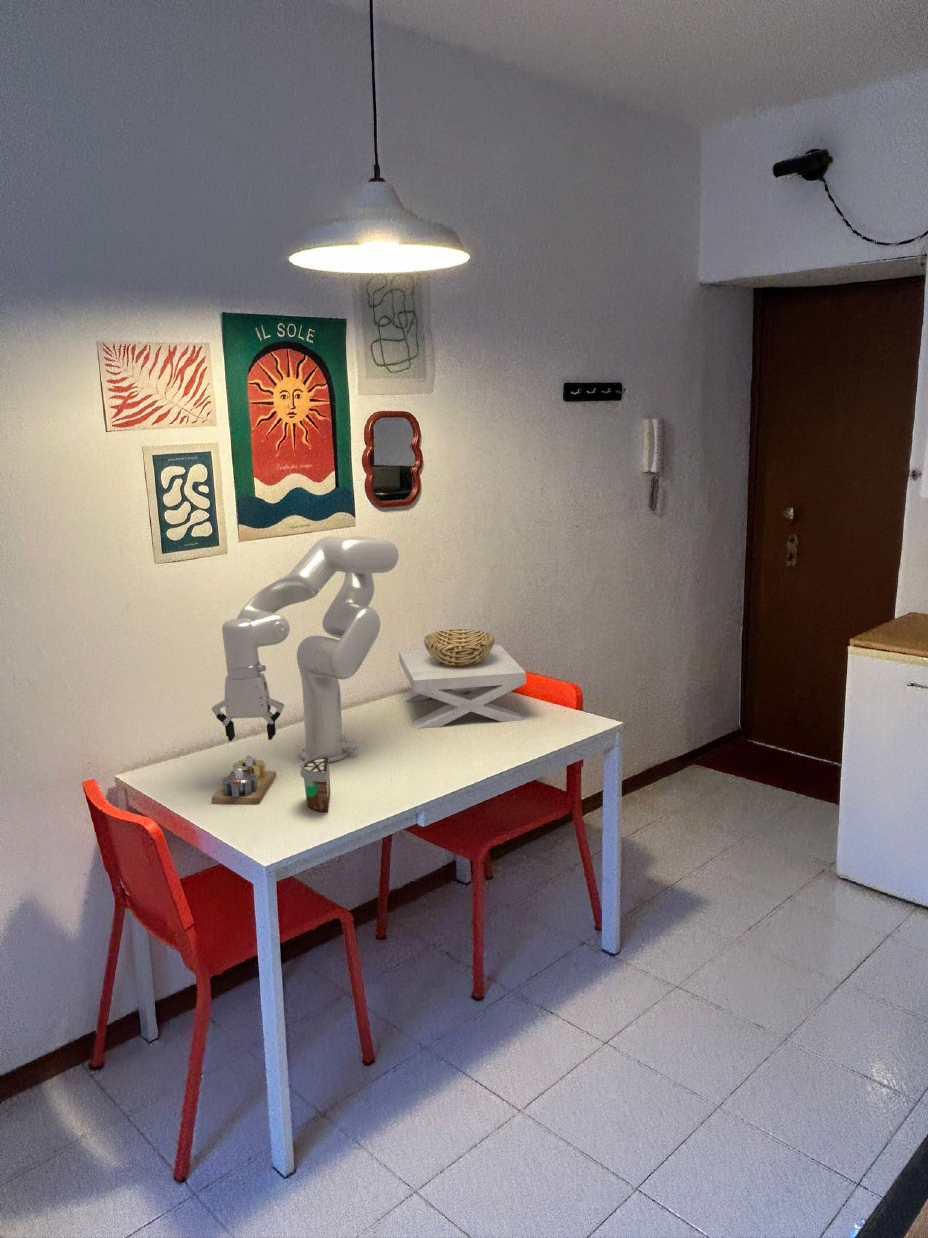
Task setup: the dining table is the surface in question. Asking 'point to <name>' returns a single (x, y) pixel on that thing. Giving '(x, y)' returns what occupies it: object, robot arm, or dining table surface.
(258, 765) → the wooden gear
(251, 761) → the peg
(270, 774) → the gear board
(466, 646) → the stand with wicker basket
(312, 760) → the food container
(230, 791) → the gear
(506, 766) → the dining table surface
